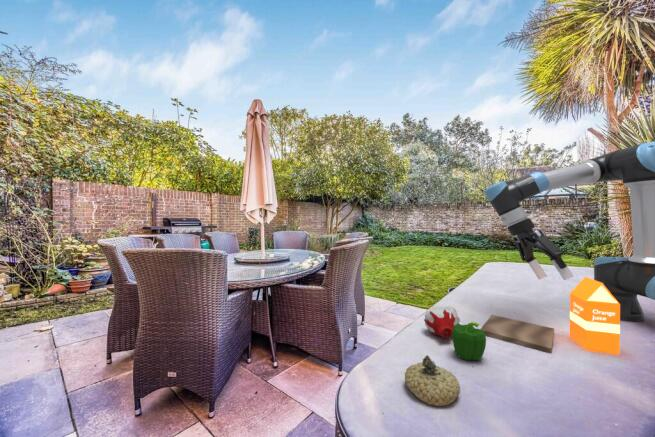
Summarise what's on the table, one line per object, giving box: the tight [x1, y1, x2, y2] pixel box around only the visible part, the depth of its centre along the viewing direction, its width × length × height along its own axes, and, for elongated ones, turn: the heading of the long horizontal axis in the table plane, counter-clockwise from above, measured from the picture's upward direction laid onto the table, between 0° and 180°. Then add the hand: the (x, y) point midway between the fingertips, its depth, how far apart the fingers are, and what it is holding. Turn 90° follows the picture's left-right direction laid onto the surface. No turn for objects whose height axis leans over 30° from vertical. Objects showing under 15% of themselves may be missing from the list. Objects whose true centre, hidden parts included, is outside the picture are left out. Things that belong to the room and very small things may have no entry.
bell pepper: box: [451, 321, 487, 361], centre depth 73 cm, size 8×8×10 cm
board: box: [480, 314, 555, 354], centre depth 87 cm, size 18×18×2 cm
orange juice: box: [569, 276, 621, 356], centre depth 79 cm, size 8×9×20 cm
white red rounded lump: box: [423, 304, 461, 339], centre depth 86 cm, size 9×11×15 cm
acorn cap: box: [404, 355, 461, 407], centre depth 59 cm, size 10×11×10 cm
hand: (555, 278), depth 87 cm, fingers open, 13 cm apart
